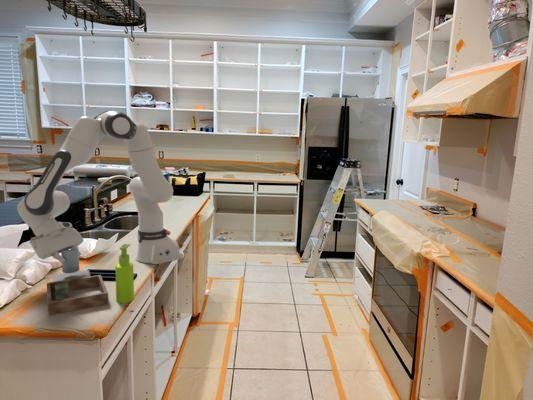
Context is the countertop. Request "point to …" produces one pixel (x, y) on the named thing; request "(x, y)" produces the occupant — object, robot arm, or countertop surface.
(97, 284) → the crate
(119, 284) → the soap dispenser
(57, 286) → the block
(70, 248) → the cup
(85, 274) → the board
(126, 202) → the countertop surface
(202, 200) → the countertop surface
